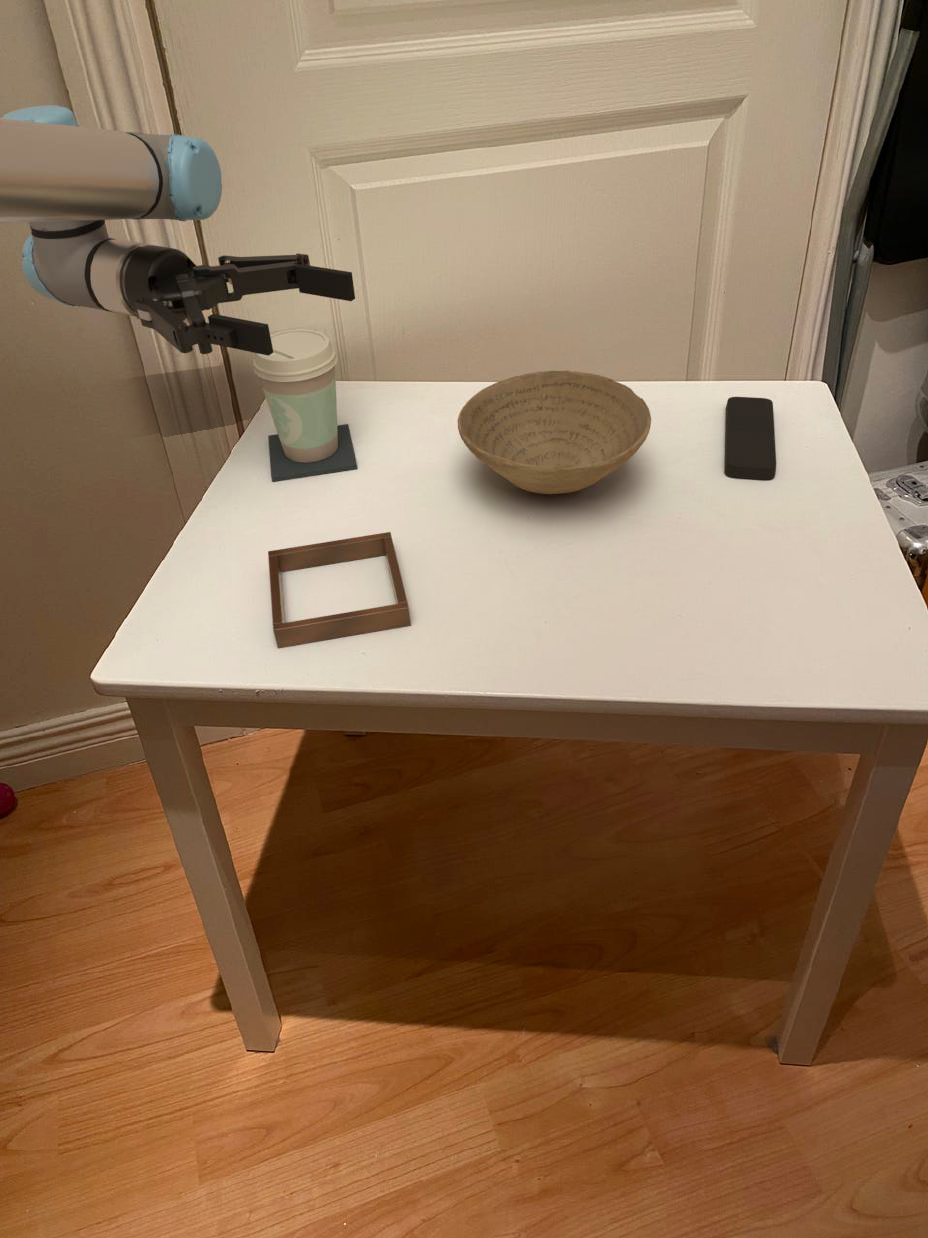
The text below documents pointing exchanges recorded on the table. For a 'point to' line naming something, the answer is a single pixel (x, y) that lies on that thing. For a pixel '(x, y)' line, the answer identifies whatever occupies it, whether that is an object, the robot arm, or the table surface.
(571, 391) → the bowl
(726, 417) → the remote control
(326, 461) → the felt mat
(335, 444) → the coffee cup
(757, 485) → the table surface
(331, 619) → the wooden square frame
